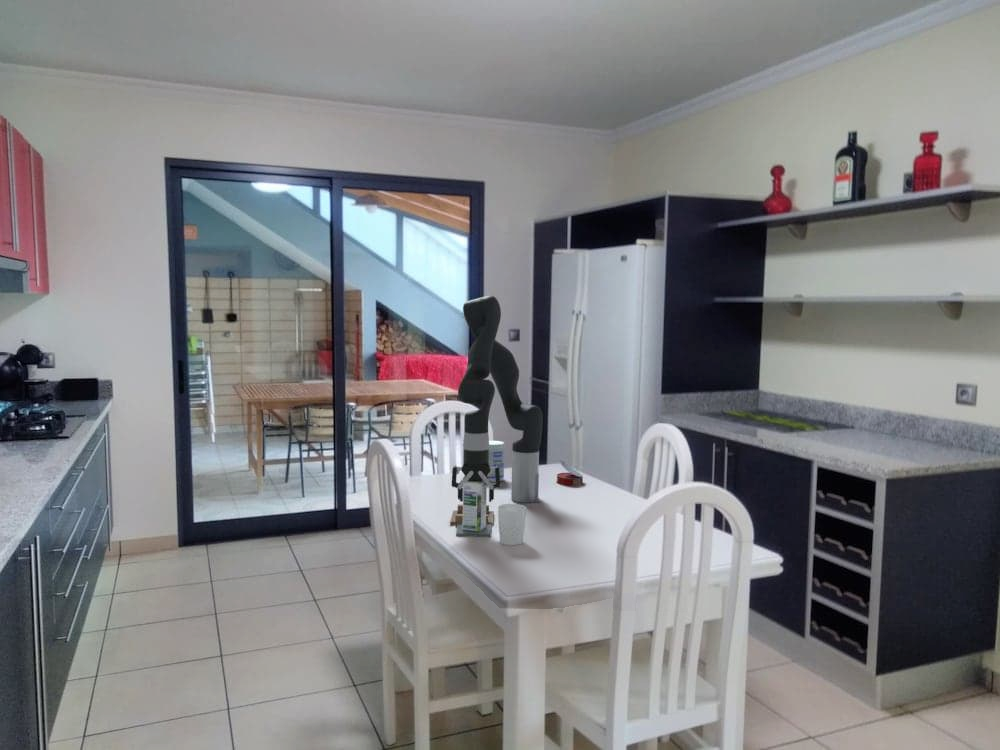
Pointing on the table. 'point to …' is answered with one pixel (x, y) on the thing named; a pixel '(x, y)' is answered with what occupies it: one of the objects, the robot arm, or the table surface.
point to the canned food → (569, 477)
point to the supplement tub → (496, 459)
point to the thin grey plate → (483, 533)
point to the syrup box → (474, 505)
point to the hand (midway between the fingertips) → (475, 501)
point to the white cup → (511, 523)
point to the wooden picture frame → (458, 515)
